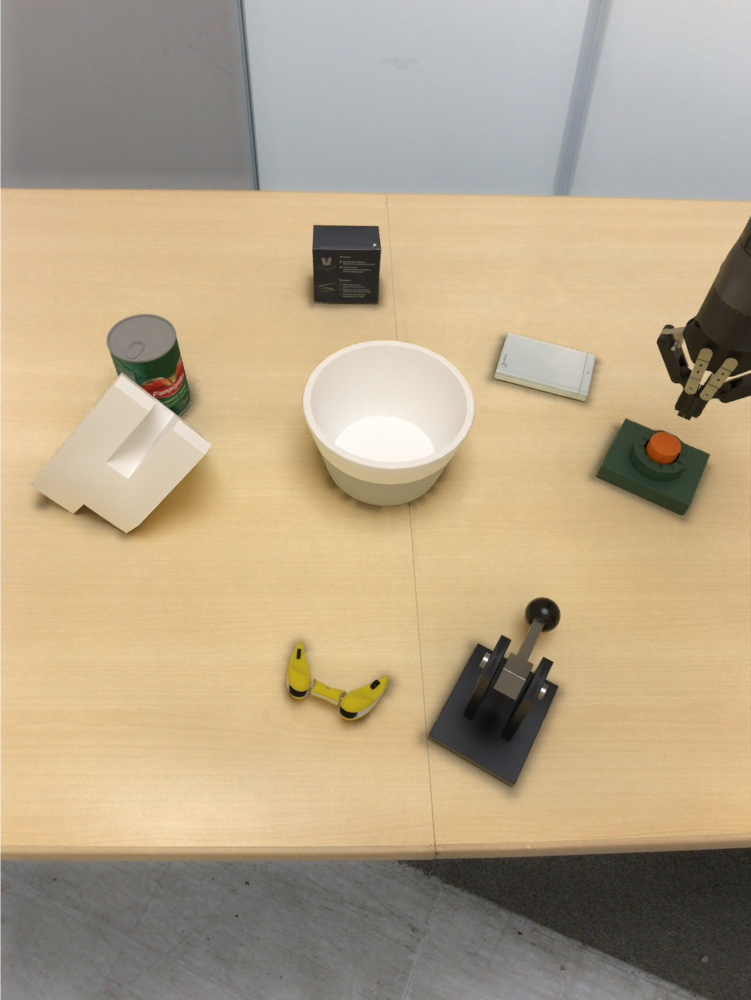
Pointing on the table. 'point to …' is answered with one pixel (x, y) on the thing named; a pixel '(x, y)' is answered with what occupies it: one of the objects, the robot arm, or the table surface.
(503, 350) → the hard drive
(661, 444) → the button
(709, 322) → the robot arm
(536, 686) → the bracket
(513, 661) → the lever
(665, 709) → the table surface
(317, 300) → the box
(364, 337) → the table surface
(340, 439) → the bowl
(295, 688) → the yellow bent piece
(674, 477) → the button box
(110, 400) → the slotted wedge
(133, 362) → the canned tomato
